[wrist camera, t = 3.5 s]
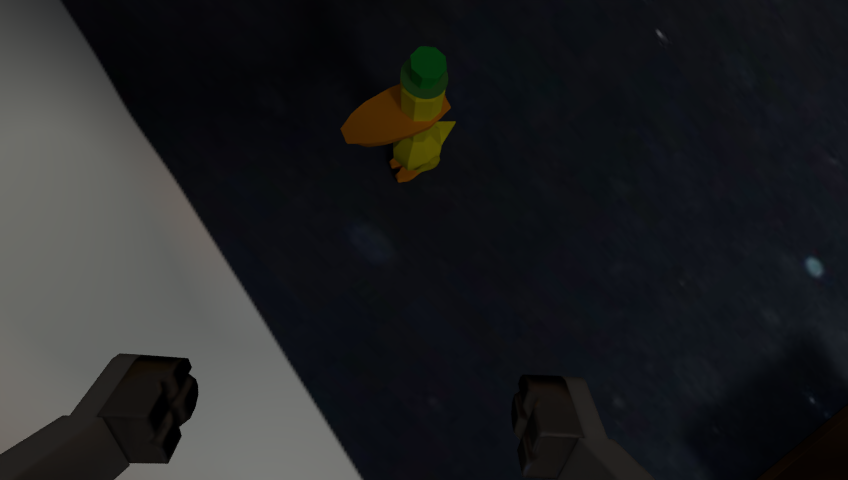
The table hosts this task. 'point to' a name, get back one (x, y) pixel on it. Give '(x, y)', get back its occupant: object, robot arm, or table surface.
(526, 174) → the table surface
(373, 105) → the toy figure
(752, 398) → the table surface
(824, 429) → the open wooden box
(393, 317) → the table surface
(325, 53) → the table surface
